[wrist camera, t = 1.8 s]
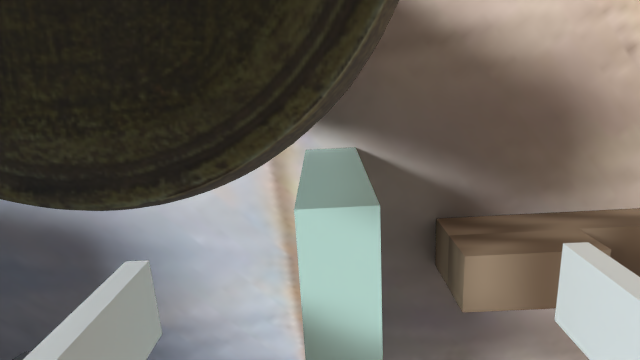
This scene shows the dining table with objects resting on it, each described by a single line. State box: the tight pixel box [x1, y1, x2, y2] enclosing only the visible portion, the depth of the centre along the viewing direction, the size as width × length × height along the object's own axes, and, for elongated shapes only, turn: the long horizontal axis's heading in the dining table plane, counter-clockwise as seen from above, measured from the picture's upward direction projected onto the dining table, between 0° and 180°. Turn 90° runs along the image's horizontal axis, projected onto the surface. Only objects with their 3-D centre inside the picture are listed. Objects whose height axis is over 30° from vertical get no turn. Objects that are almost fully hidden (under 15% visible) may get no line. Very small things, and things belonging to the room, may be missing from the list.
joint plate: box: [294, 148, 383, 360], centre depth 20 cm, size 14×3×10 cm, turn 3°
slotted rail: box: [435, 208, 640, 312], centre depth 22 cm, size 18×3×5 cm, turn 93°
